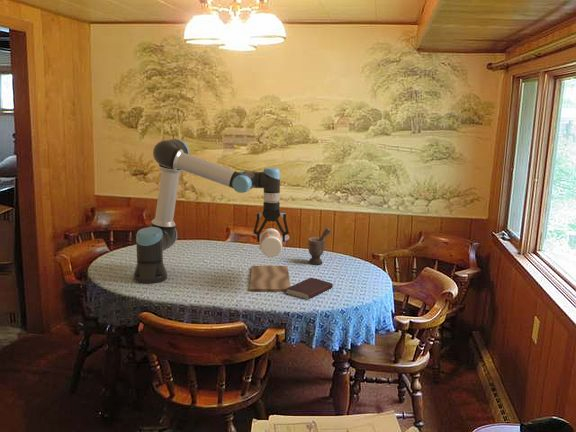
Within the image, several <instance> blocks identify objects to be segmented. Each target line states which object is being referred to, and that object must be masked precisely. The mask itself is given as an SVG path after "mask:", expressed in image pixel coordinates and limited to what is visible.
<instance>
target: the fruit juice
mask: <svg viewBox="0 0 576 432" xmlns="http://www.w3.org/2000/svg"><path fill="white" fill-rule="evenodd" d="M282 250H283V242H282V243H281V234H280V232H279V230H278V229H275V228H272V227H270V228H267V229H264V231H263V232H261V249H260V251H261V252H262V254H263V255H264V256H265V257H267V258H275V257H277V256H279V255H281V252H282Z"/></svg>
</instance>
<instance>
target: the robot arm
mask: <svg viewBox="0 0 576 432" xmlns="http://www.w3.org/2000/svg"><path fill="white" fill-rule="evenodd" d="M152 155H153V158H154V160H155V162H156V163H157V164H158V168H160V170H161V172H160V173H161V174H160V178H159V179H160V180H159V186H158V187H159V188H158V196H157V203H156V209H155V217H154V218H153V219H152V220H151V223H150V226H147V227H144V228H143V227H142V228H141V229H139V230H137V233H136V238H135V242H136V267H135V269H134V273H133V280H136V281H138V282H137V283H139V282H144V283H143V284H157V283H161V282H164V281H165V279H166V280H167V279H168V272H167V269H166V266H165V264H164V260H163V259H164V257H163V256H164V255H163V254H164V253H163V252H164V251H166V250H167V249H169V248H171V247H172V246H173V245H174V244H175V243H176V241H177V239H178V232H177V231H178V230H177V229H176V222H175V221H174V216H175V210H176V202H177V195H178V189H179V181H180V174H181V172H183V171H184V172H186V173H189V174H192V175H194V176H197V177H201V178H204V179H207V180H209V181H212V182H213V183H218V184H220V185H222V186H226V187H228V188H231V189H233V191H235V192H236V193H241V194H243V193H247V192H248V191H250V190H251V189H262V190H263V203H262V204H263V210H262V212H256V220H255V223H254V228H253V232H252V233H253V234H254V235H256V241H257V243H259V250H261V236H262V231H263V229H264V227H265V226H266V225H267V223H268V222H272V223H273V222H275V223H276V225H277V227H278V229H279V231H280V232H281V234H280V237H281V243H282V244H283V243H285V241H286V235H289V234H290V233H289V228H288V223H287V219H286V218H287V213H286V212H281V210H280V207H281V206H280V205H281V204H280V200H281V170H280V169H279V168H278V167H264V169H263V171H251V170H250V171H248V170H244V171H243V170H241V171H239V172H238V171H236V170H233V169H230V168H229V167H228V168H227V167H226V166H222V165H220V164H217V163H214V162H211V161H207V160H206V159H203V158H200V157H197V156H194V155H191V154H190V150H189V146H188V145H187V143H185V142H184V141H183V140H181V139H176V138H172V139H167V140H165V139H164V140H161V141H159V142H157V143H156V144H155V145H154V147H153V151H152ZM262 216H263V218H264V220H263V221H262V224H261V225H260V227H259V222H260V218H262ZM280 217H281V218H282V220H283V224H284V228H285V231H284V228H283V227H282V225H281V222H280V221H279V218H280ZM258 227H259V229H258ZM257 230H258V231H257ZM136 281H135V282H136Z"/></svg>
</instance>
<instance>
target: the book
mask: <svg viewBox="0 0 576 432" xmlns="http://www.w3.org/2000/svg"><path fill="white" fill-rule="evenodd" d="M333 286H334V285H333V283H332V282H329V281H327V280H326V281H325V280H323V279H319V278H314V277H309V278H307V279H304V280H302V281H299V282H298V283H296V284H293V285H290V287H288V288H287V292H286V293H287V295H290V294H292V295H291V296H294V295H296V297H298V296H299V297H298V298H302V297H303V298H302V299H306V298H307V299H306V300H308V299H309V300H311V299H313V298H315V297H317V296H319V295H321V294H324V293H326V292H327V290H328V291H330V290H332V289H333V288H334V287H333ZM331 288H332V289H331ZM329 289H330V290H329ZM325 291H326V292H325ZM323 292H324V293H323ZM310 298H311V299H310Z"/></svg>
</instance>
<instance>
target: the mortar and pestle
mask: <svg viewBox="0 0 576 432" xmlns="http://www.w3.org/2000/svg"><path fill="white" fill-rule="evenodd" d="M331 231H332V230H331V229H330V228H329V227H326V228H325V229H324V231H323V232H322V234H321V235H320V237H314V236H313V237H309V238H308V245H307V247H308V248H307V249H308V253H309V255H310V256H311V257H310V258H309V260H308V264H309V265H316V266H317V265H323V260H322V259H321V256H322V255H323V254H324V251H325V243H326V240H325V239H326V238H327V236H329V234H330V233H331Z"/></svg>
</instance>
